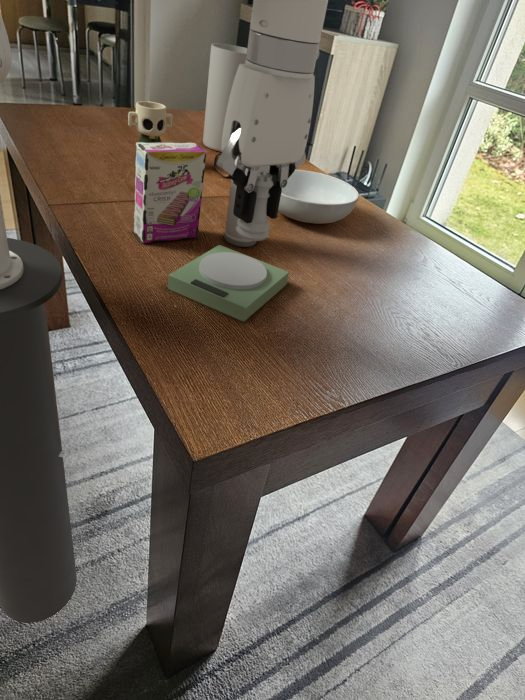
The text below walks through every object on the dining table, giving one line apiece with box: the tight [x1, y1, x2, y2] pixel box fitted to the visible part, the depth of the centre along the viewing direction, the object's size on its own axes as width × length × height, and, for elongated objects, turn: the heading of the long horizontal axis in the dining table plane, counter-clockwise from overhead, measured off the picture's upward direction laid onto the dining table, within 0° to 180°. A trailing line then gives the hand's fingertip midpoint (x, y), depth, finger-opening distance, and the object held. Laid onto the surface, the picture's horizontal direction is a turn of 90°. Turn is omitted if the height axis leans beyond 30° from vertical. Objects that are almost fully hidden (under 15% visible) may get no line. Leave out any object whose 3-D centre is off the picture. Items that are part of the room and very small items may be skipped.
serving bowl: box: [278, 169, 360, 225], centre depth 112 cm, size 21×21×7 cm
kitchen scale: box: [167, 244, 290, 323], centre depth 82 cm, size 15×14×3 cm
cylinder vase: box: [202, 42, 247, 153], centre depth 139 cm, size 12×12×25 cm
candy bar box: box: [133, 141, 207, 244], centre depth 90 cm, size 11×5×16 cm, turn 122°
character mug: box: [127, 100, 174, 143], centre depth 123 cm, size 11×7×13 cm, turn 117°
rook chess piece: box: [236, 171, 274, 242], centre depth 64 cm, size 4×4×8 cm
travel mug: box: [224, 156, 267, 248], centre depth 92 cm, size 6×7×20 cm
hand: (254, 215), depth 65 cm, fingers closed on rook chess piece, 3 cm apart
